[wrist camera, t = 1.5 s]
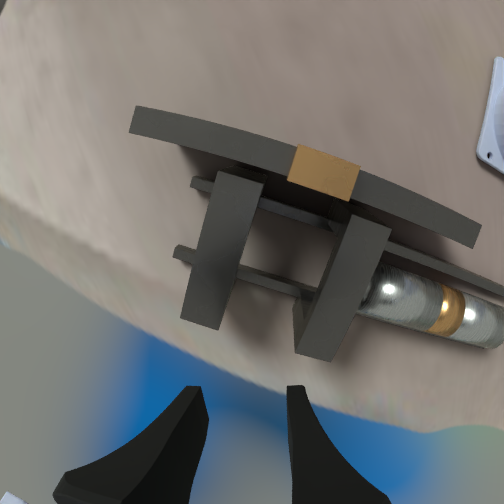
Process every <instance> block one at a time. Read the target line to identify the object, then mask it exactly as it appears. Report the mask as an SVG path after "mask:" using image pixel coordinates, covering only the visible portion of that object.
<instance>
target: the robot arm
mask: <svg viewBox="0 0 504 504" xmlns="http://www.w3.org/2000/svg"><path fill="white" fill-rule="evenodd" d="M476 153H477V156H478V158H479V159H481V160H482V161H484V162H485V163H487V164H488V165H490V166H492V167H493V168H495V169H496V170H498V171H499V172H501V173H502V174H504V58H502V57H496V58H495V60H494V66H493V73H492V80H491V86H490V91H489V97H488V102H487V107H486V112H485V116H484V121H483V125H482V129H481V134H480V138H479V142H478V145H477V150H476ZM487 153H489V155H490V157H489V159H488V158H487ZM287 420H288V444H289V453H290V462H291V471H292V481H293V482H292V483H293V484H292V504H391V502H390V500H389V498H388V497H387V495H385V494H384V493H382V492H381V491H379V490H378V489H377V488H375V487H374V486H373V485H372V484H371V483H369V482H368V481H367V480H366V479H365V478H364V477H362V476H361V475H360V474H359V473H358V472H357V471H356V470H355V469H354V468H353V467H352V466H351V465H350V464H349V463H348V462H347V461H346V459H345V458H344V457H343V456H342V455H341V454H340V453H339V451H338V450H337V449H336V447H335V446H334V445H333V443H332V442H331V440H330V439H329V438H328V436H327V434H326V433H325V431H324V430H323V428H322V426H321V425H320V423H319V421H318V419H317V417H316V415H315V413H314V412H313V409H312V407H311V405H310V402H309V400H308V397H307V394H306V390H305V387H304V386H303V385H294V386H287ZM208 423H209V417H208V413H207V409H206V406H205V401H204V397H203V393H202V390H201V386H186V387H185V388H184V389H183V390H182V391H181V392H180V394H179V395H178V396H177V397H176V398H175V399H174V400H173V401H172V403H171V404H170V405H169V406H168V407H167V408H166V409H165V410H164V411H163V412H162V413H161V414H160V415H159V416H158V417H157V418H156V419H155V420H154V421H153V422H152V423H151V424H150V425H149V426H148V427H147V428H145V430H143V431H142V432H141V433H140V434H138V435H137V436H136V437H135V438H133V439H132V440H131V441H129V442H128V443H126V444H125V445H123V446H122V447H120V448H119V449H117V450H115V451H114V452H112V453H110V454H109V455H107V456H105V457H103V458H101V459H99V460H97V461H94V462H92V463H90V464H88V465H85V466H82V467H79V468H77V469H74V470H71V471H67V472H65V474H64V475H63V477H62V478H61V480H60V482H59V483H58V485H57V487H56V489H55V491H54V492H53V498H54V500H55V501H56V502H57V504H189V499H190V492H191V487H192V484H193V480H194V477H195V473H196V470H197V467H198V464H199V461H200V457H201V454H202V451H203V447H204V444H205V441H206V436H207V429H208ZM0 504H28V503H27V502H25V501H24V500H22V499H20V498H19V497H17V496H15V495H13V494H11V493H10V492H6V493H5V495H4V496H3V498H2V499H1V501H0Z"/></svg>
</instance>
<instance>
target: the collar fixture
mask: <svg viewBox="0 0 504 504" xmlns="http://www.w3.org/2000/svg"><path fill="white" fill-rule="evenodd" d="M129 133H132V134H136V135H141V136H145V137H149V138H154V139H158V140H162V141H166V142H170V143H174V144H178V145H182V146H186V147H190V148H194V149H197V150H201V151H205V152H208V153H212V154H216V155H219V156H223V157H226V158H230V159H233V160H237V161H240V162H243V163H247V164H250V165H253V166H257V167H260V168H263V169H266V170H270V171H273V172H276V173H279V174H282V175H285V176H287V181H290V182H293V183H296V184H299V185H302V186H305V187H308V188H311V189H314V190H317V191H320V192H323V193H326V194H329V195H331V196H334V197H337V198H340V199H343V200H345V201H348V202H349V199H350V198H352V199H354V200H357V201H360V202H362V203H365V204H368V205H370V206H373V207H375V208H378V209H381V210H383V211H386V212H388V213H391V214H393V215H396V216H398V217H401V218H403V219H405V220H408V221H410V222H413V223H415V224H417V225H420V226H422V227H425V228H427V229H429V230H432V231H434V232H436V233H438V234H441V235H443V236H445V237H447V238H450V239H452V240H454V241H456V242H459V243H461V244H463V245H465V246H467V247H469V248H472V249H473V247H474V245H475V242H476V240H477V237H478V234H479V232H480V229H481V226H482V225H481V224H479V223H477V222H475V221H473V220H471V219H469V218H467V217H465V216H463V215H461V214H459V213H457V212H455V211H453V210H451V209H449V208H447V207H445V206H443V205H441V204H439V203H437V202H435V201H432V200H430V199H428V198H426V197H424V196H422V195H419V194H417V193H415V192H413V191H410V190H408V189H406V188H404V187H401V186H399V185H397V184H394V183H392V182H389V181H387V180H385V179H382V178H380V177H377V176H375V175H372V174H370V173H367V172H365V171H362V170H360V167H361V166H359V165H356V164H353V163H351V162H348V161H345V160H343V159H340V158H337V157H335V156H332V155H329V154H326V153H324V152H321V151H318V150H315V149H312V148H309V147H306V146H303V145H300V144H298V145H297V147H296V146H292V145H289V144H286V143H283V142H280V141H277V140H274V139H270V138H267V137H264V136H260V135H257V134H253V133H250V132H247V131H243V130H239V129H236V128H232V127H228V126H225V125H221V124H217V123H213V122H209V121H205V120H201V119H197V118H193V117H189V116H184V115H180V114H175V113H171V112H166V111H162V110H157V109H152V108H147V107H142V106H136V107H135V111H134V115H133V118H132V122H131V126H130V130H129ZM267 177H268V175H264V174H261V173H258V172H255V171H251V170H248V169H245V168H241V167H238V166H235V165H234V166H231V167H228V168H225V169H221V170H218V172H217V176H216V179H215V181H213V180H209V179H206V178H202V177H199V176H193V177H192V180H191V184H190V187H192V188H195V189H199V190H202V191H205V192H209V193H211V197H210V201H209V204H208V208H207V212H206V215H205V219H204V223H203V227H202V230H201V234H200V238H199V242H198V246H197V250H194V249H191V248H188V247H185V246H182V245H178V246H177V247H175V249H174V254H173V258H176V259H179V260H183V261H186V262H189V263H192V264H193V266H192V270H191V274H190V278H189V282H188V286H187V290H186V294H185V299H184V303H183V307H182V312H181V316H180V318H182V319H184V320H187V321H190V322H193V323H196V324H199V325H202V326H205V327H208V328H212V329H215V330H219V327H220V324H221V321H222V318H223V315H224V312H225V309H226V306H227V304H228V301H229V298H230V295H231V292H232V289H233V286H234V282H235V279H236V278H238V279H242V280H245V281H248V282H251V283H254V284H257V285H261V286H264V287H267V288H270V289H274V290H277V291H280V292H283V293H287V294H290V295H293V296H297V298H296V300H295V303H294V305H293V308H292V310H293V328H294V347H295V353H297V354H300V355H304V356H308V357H312V358H316V359H320V360H324V361H328V362H331V361H332V359H333V357H334V355H335V353H336V351H337V349H338V347H339V345H340V343H341V342H342V340H343V338H344V336H345V334H346V332H347V330H348V328H349V326H350V324H351V322H352V319H353V317H354V315H355V314H358V315H361V316H365V317H368V318H372V319H375V320H379V321H382V322H386V323H389V324H393V325H397V326H400V327H404V328H407V329H411V330H415V331H418V332H422V333H426V334H430V335H433V336H437V337H441V338H445V339H448V340H452V341H456V342H460V343H464V344H468V345H472V346H476V347H479V348H483V349H484V348H485V347H481V346H477V345H473V344H470V343H466V342H462V341H458V340H454V339H451V338H447V337H443V336H439V335H436V334H432V333H428V332H425V331H421V330H417V329H414V328H410V327H406V326H403V325H399V324H396V323H392V322H388V321H385V320H381V319H378V318H374V317H371V316H367V315H364V314H360V313H357V312H356V311H357V309H358V307H359V305H360V303H361V301H362V298H363V296H364V294H365V292H366V290H367V287H368V285H369V283H370V281H371V278H372V276H373V274H374V272H375V269H376V267H377V265H378V262H379V260H380V257H381V255H382V253H383V250H385V251H388V252H390V253H393V254H396V255H399V256H401V257H404V258H407V259H409V260H412V261H415V262H417V263H420V264H423V265H425V266H428V267H431V268H433V269H436V270H439V271H441V272H444V273H446V274H449V275H451V276H454V277H456V278H459V279H462V280H464V281H467V282H469V283H472V284H474V285H477V286H479V287H481V288H484V289H486V290H489V291H491V292H494V293H496V294H499V295H501V296H503V297H504V286H502V285H500V284H498V283H495V282H493V281H491V280H489V279H486V278H484V277H482V276H479V275H477V274H475V273H472V272H470V271H468V270H465V269H463V268H460V267H458V266H456V265H453V264H451V263H448V262H446V261H443V260H441V259H439V258H436V257H434V256H431V255H429V254H426V253H424V252H421V251H418V250H416V249H413V248H411V247H408V246H406V245H403V244H400V243H398V242H395V241H392V240H390V239H388V238H389V235H390V233H391V230H392V229H391V228H390V227H388V226H387V225H386V224H384V223H383V222H382V221H380V220H379V219H378V218H376V217H375V216H374V215H372V214H371V213H370V212H368V211H367V210H366V209H364V208H361V207H358V206H355V205H353V204H350V203H347V202H345V201H342V200H339V199H336V198H334V199H333V202H332V205H331V208H330V210H329V213H328V216H327V217H326V216H323V215H320V214H317V213H314V212H311V211H308V210H305V209H302V208H299V207H296V206H293V205H290V204H287V203H284V202H281V201H278V200H275V199H272V198H268V197H265V196H262V193H263V190H264V186H265V183H266V180H267ZM257 207H258V208H261V209H264V210H267V211H270V212H273V213H277V214H280V215H283V216H286V217H289V218H292V219H295V220H298V221H301V222H304V223H307V224H310V225H313V226H316V227H319V228H322V229H325V230H328V231H331V232H334V234H335V235H336V237H337V240H336V243H335V246H334V248H333V251H332V253H331V256H330V258H329V261H328V264H327V266H326V269H325V271H324V274H323V276H322V278H321V281H320V283H319V286H318V288H315V287H312V286H309V285H305V284H302V283H299V282H296V281H293V280H289V279H286V278H283V277H280V276H276V275H273V274H270V273H267V272H264V271H260V270H257V269H254V268H251V267H248V266H245V265H241V264H239V263H240V259H241V256H242V253H243V250H244V246H245V243H246V240H247V237H248V234H249V230H250V227H251V224H252V221H253V218H254V214H255V211H256V209H257Z"/></svg>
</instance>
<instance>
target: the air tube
mask: <svg viewBox="0 0 504 504" xmlns="http://www.w3.org/2000/svg"><path fill="white" fill-rule="evenodd" d="M356 312H357V313H360V314H364V315H367V316H371V317H374V318H378V319H381V320H385V321H388V322H392V323H396V324H399V325H403V326H406V327H410V328H414V329H417V330H421V331H425V332H428V333H432V334H436V335H439V336H443V337H447V338H451V339H454V340H458V341H462V342H466V343H470V344H473V345H477V346H481V347H485V348H489V349H494V348H496V347H498V346H500V345H501V344H502V343H503V341H504V307H502V306H499V305H497V304H494V303H491V302H489V301H486V300H484V299H481V298H478V297H476V296H473V295H470V294H468V293H465V292H462V291H460V290H457V289H454V288H452V287H449V286H446V285H443V284H441V283H438V282H435V281H432V280H430V279H427V278H424V277H421V276H419V275H416V274H413V273H410V272H407V271H405V270H402V269H399V268H396V267H393V266H390V265H388V264H385V263H382V262H378V265H377V267H376V269H375V272H374V274H373V276H372V278H371V281H370V283H369V285H368V287H367V290H366V292H365V294H364V296H363V298H362V301H361V303H360V305H359V307H358V309H357V311H356Z"/></svg>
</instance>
